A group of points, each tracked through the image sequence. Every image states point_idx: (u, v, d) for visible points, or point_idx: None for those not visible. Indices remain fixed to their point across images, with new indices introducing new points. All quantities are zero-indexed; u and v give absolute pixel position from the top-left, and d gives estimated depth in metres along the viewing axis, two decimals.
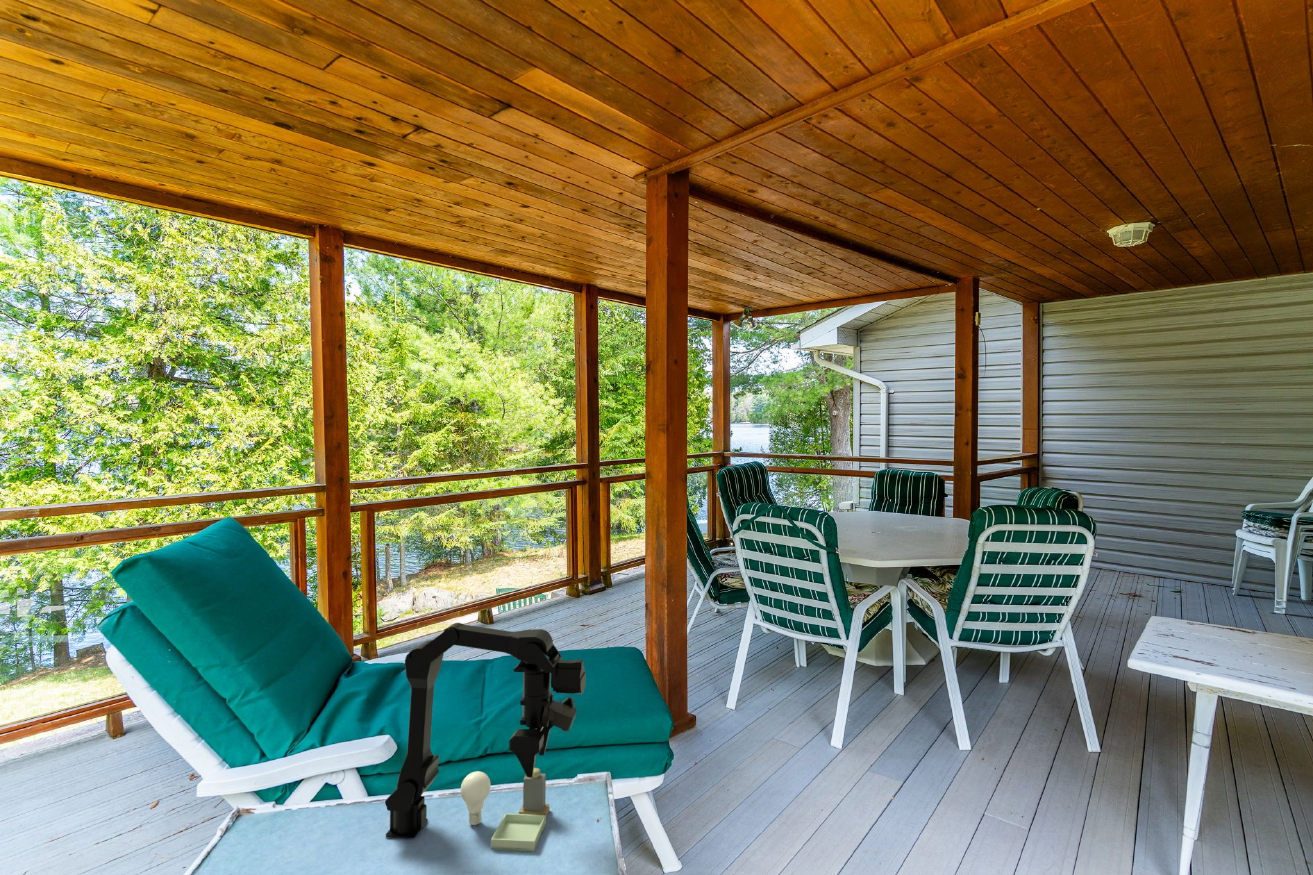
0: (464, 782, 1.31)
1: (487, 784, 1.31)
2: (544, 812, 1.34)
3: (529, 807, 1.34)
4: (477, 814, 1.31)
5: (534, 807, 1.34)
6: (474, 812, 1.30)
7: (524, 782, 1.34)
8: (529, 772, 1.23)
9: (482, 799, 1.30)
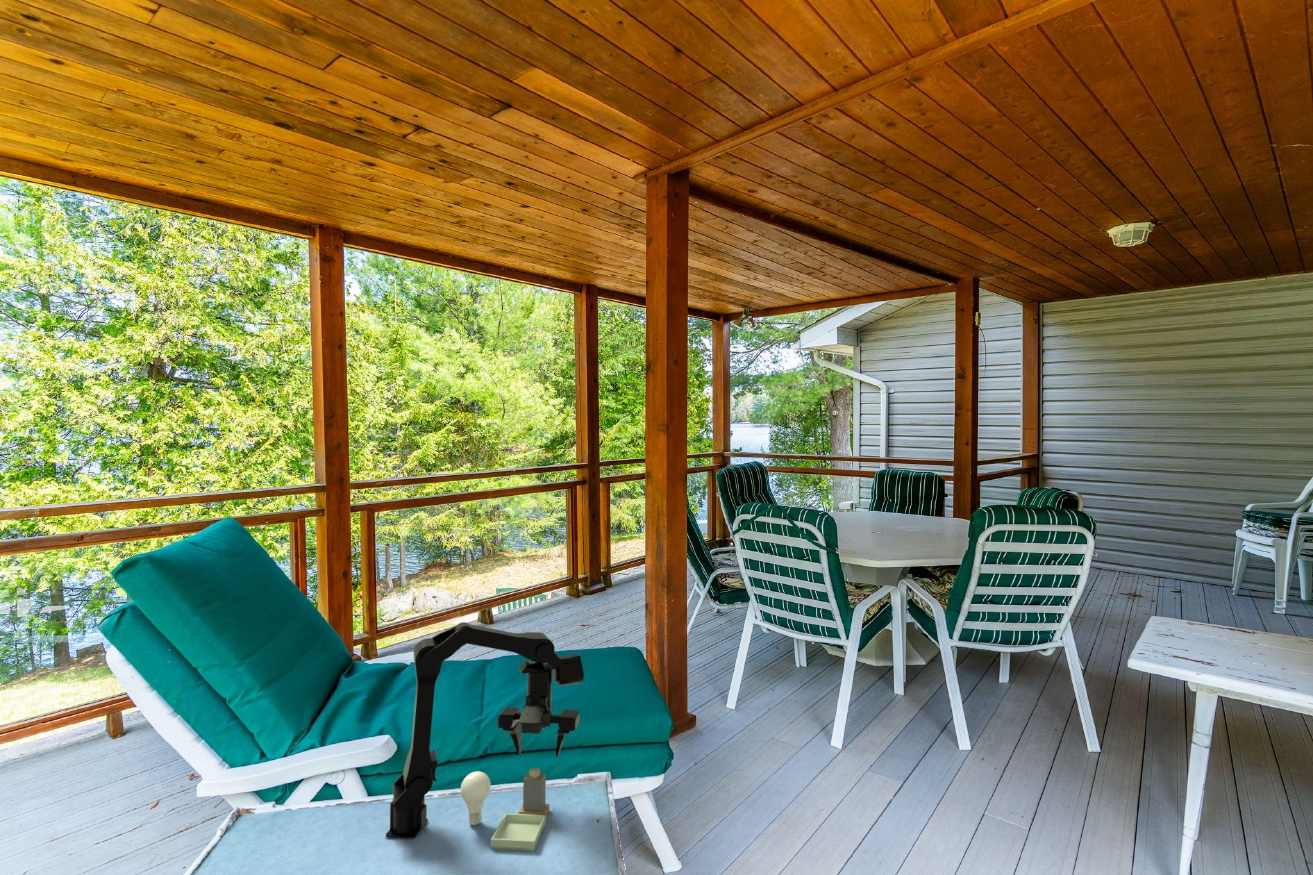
0: (464, 782, 1.31)
1: (487, 784, 1.31)
2: (544, 812, 1.34)
3: (529, 807, 1.34)
4: (477, 814, 1.31)
5: (534, 807, 1.34)
6: (474, 812, 1.30)
7: (524, 782, 1.34)
8: None
9: (482, 799, 1.30)
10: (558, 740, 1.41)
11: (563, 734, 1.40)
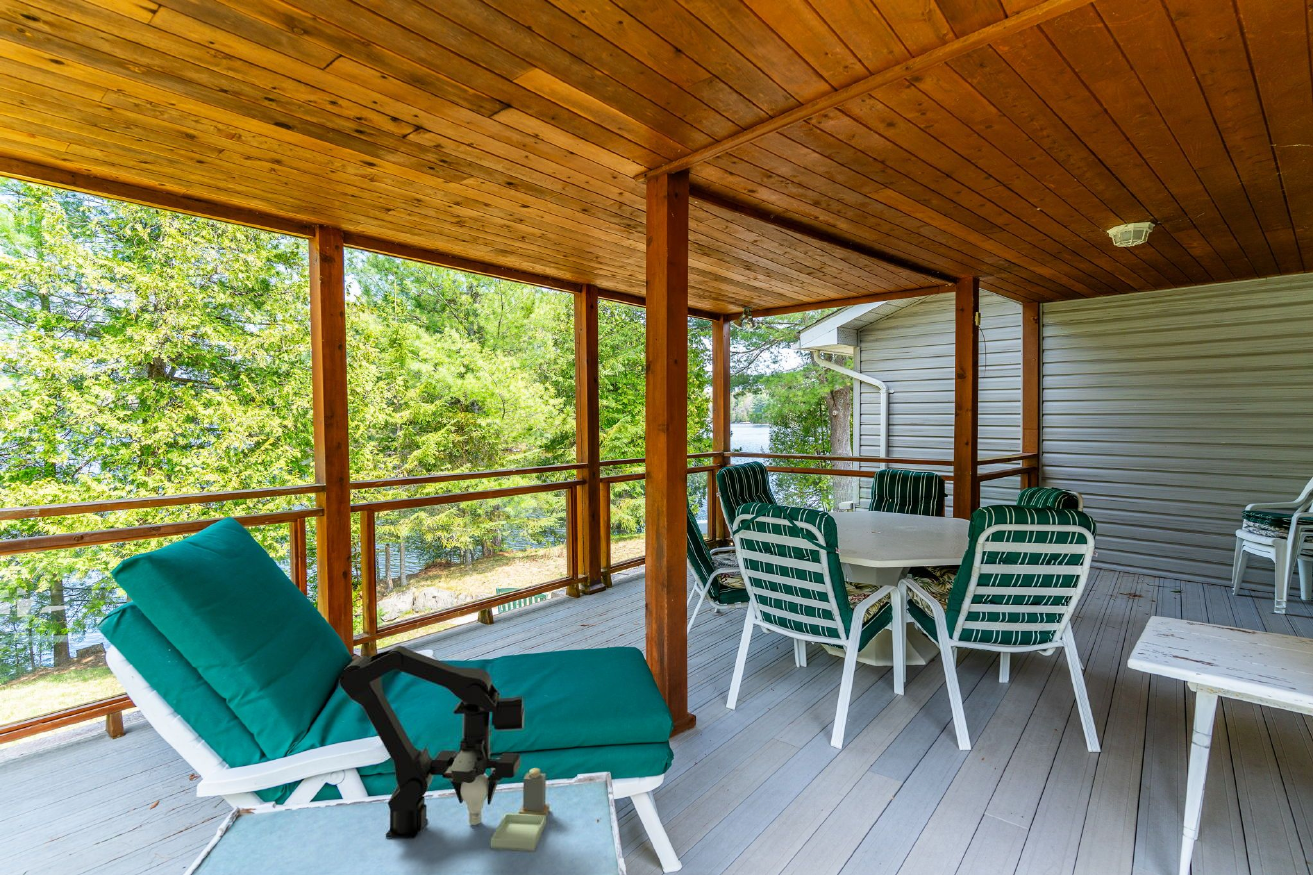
0: (464, 782, 1.31)
1: (487, 784, 1.31)
2: (544, 812, 1.34)
3: (529, 807, 1.34)
4: (477, 814, 1.31)
5: (534, 807, 1.34)
6: (474, 812, 1.30)
7: (524, 782, 1.34)
8: None
9: (482, 799, 1.30)
10: (489, 787, 1.31)
11: (494, 781, 1.30)
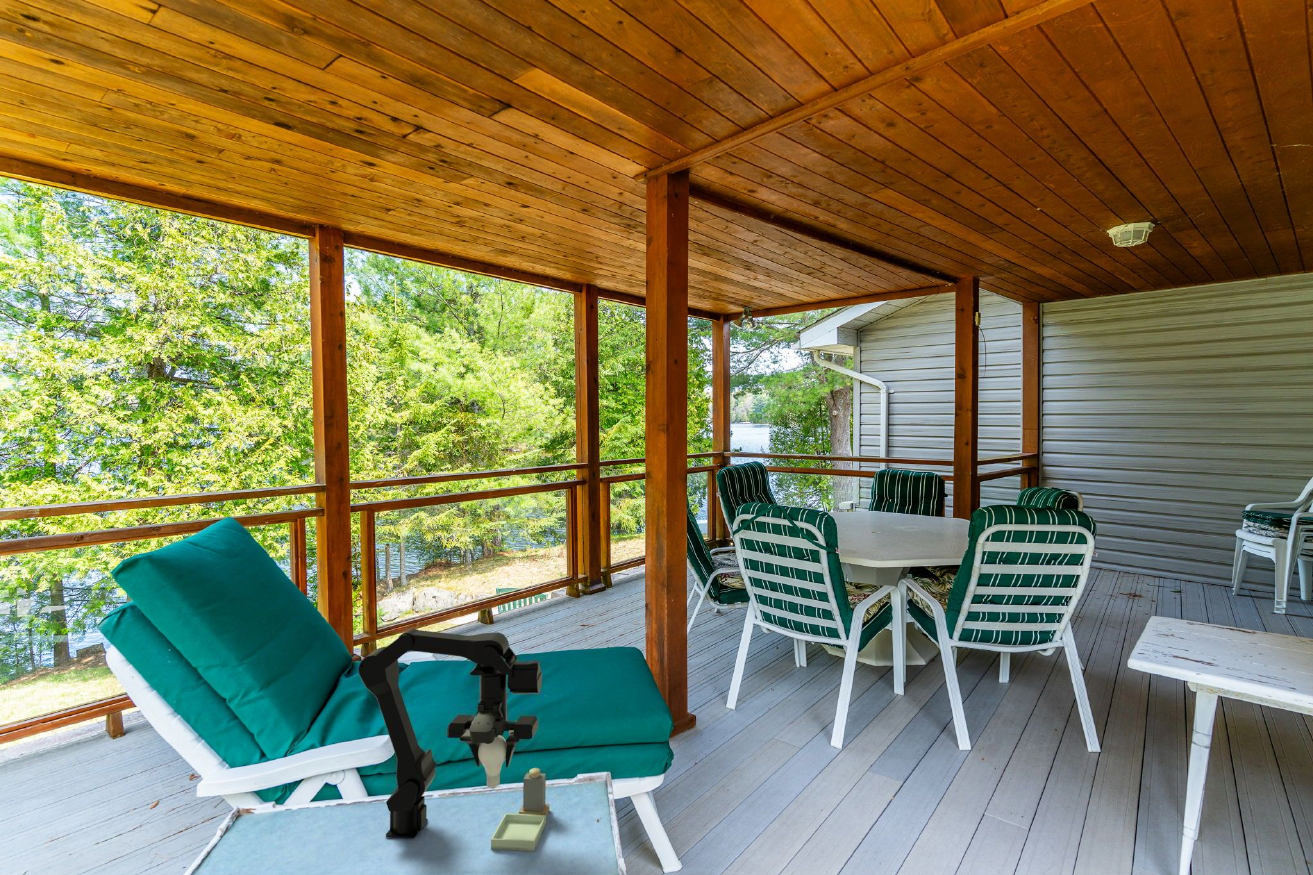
0: (482, 745, 1.29)
1: (505, 747, 1.30)
2: (544, 812, 1.34)
3: (529, 807, 1.34)
4: (495, 777, 1.30)
5: (534, 807, 1.34)
6: (492, 775, 1.29)
7: (524, 782, 1.34)
8: None
9: (500, 761, 1.29)
10: (508, 749, 1.29)
11: (512, 743, 1.28)
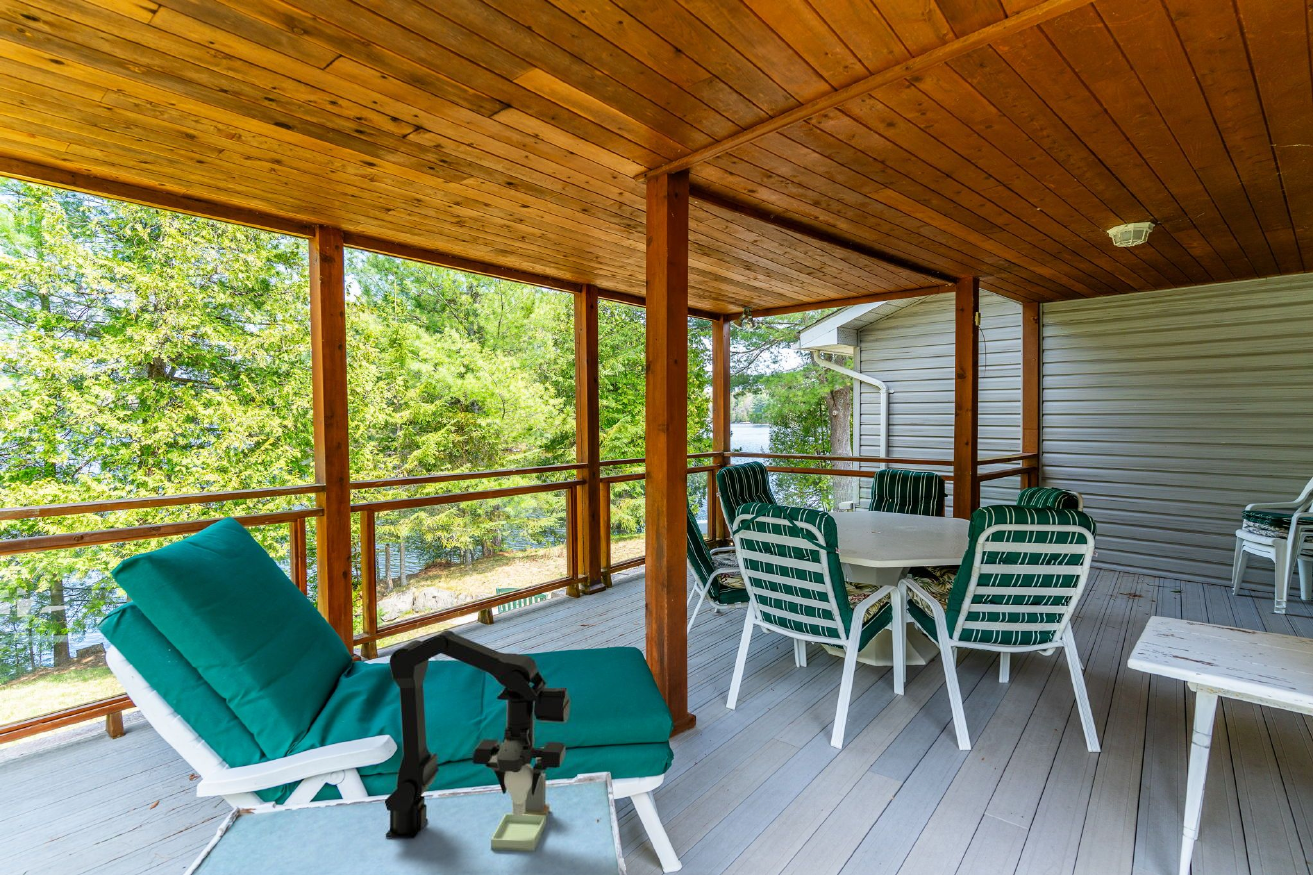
0: (508, 771, 1.27)
1: (531, 774, 1.27)
2: (544, 812, 1.34)
3: (529, 807, 1.34)
4: (521, 805, 1.27)
5: (534, 807, 1.34)
6: (518, 802, 1.26)
7: None
8: None
9: (527, 789, 1.26)
10: (534, 777, 1.26)
11: (539, 771, 1.25)
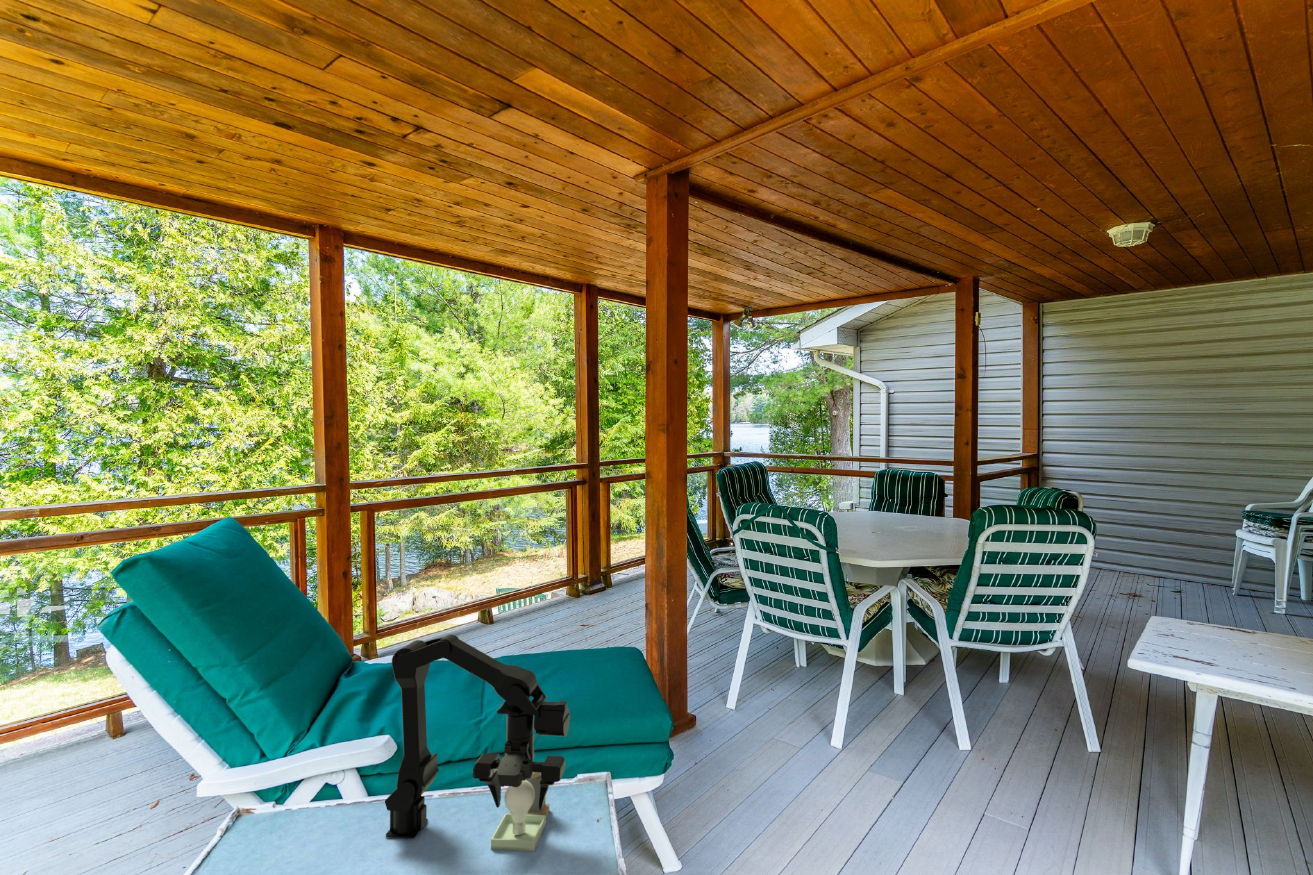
0: (509, 790, 1.26)
1: (532, 793, 1.27)
2: (544, 812, 1.34)
3: None
4: (521, 824, 1.27)
5: (534, 807, 1.34)
6: (518, 821, 1.26)
7: None
8: None
9: (527, 808, 1.26)
10: (541, 791, 1.26)
11: (546, 785, 1.25)
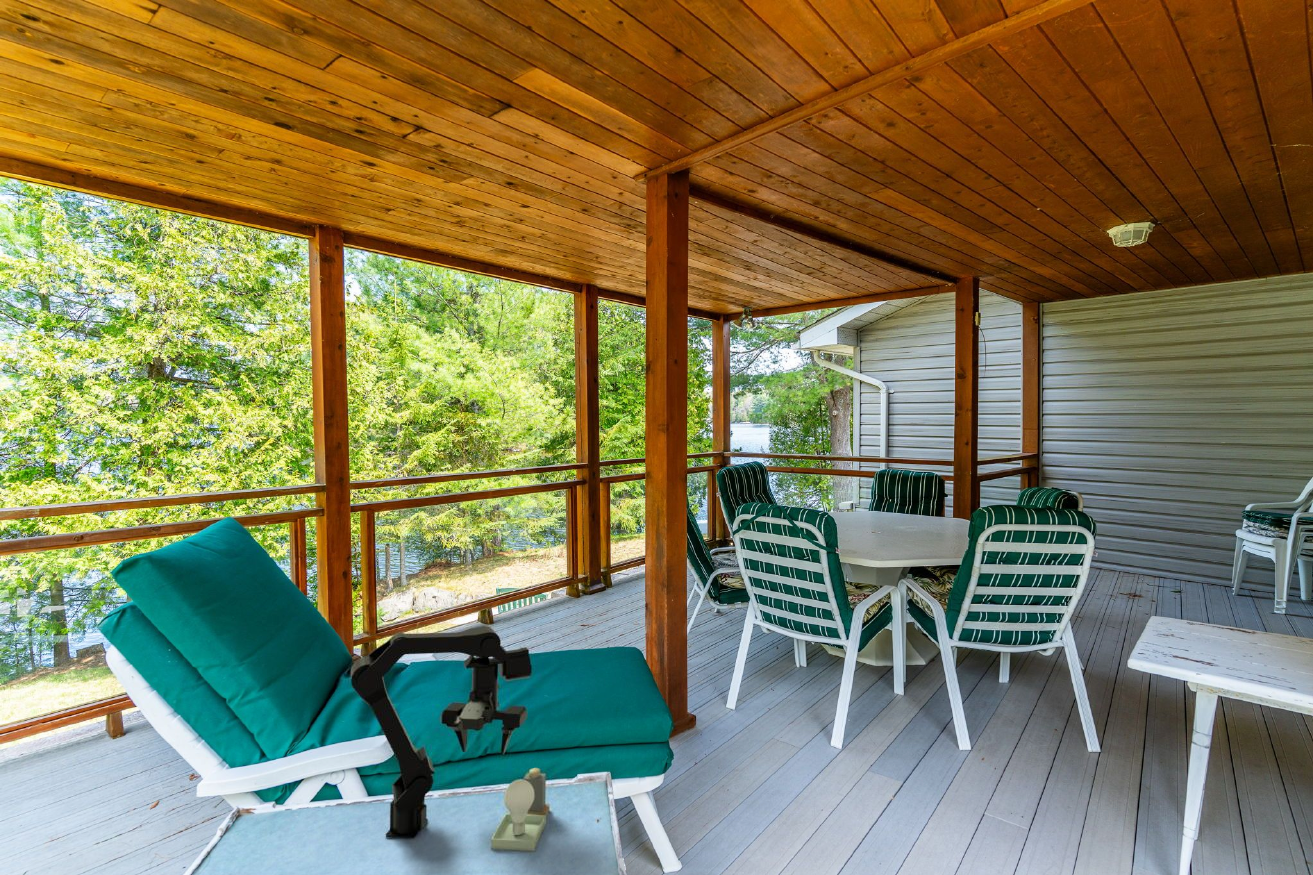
0: (508, 790, 1.26)
1: (531, 793, 1.27)
2: (544, 812, 1.34)
3: None
4: (521, 824, 1.27)
5: (534, 807, 1.34)
6: (518, 822, 1.26)
7: None
8: None
9: (527, 808, 1.26)
10: (503, 737, 1.36)
11: (507, 731, 1.35)
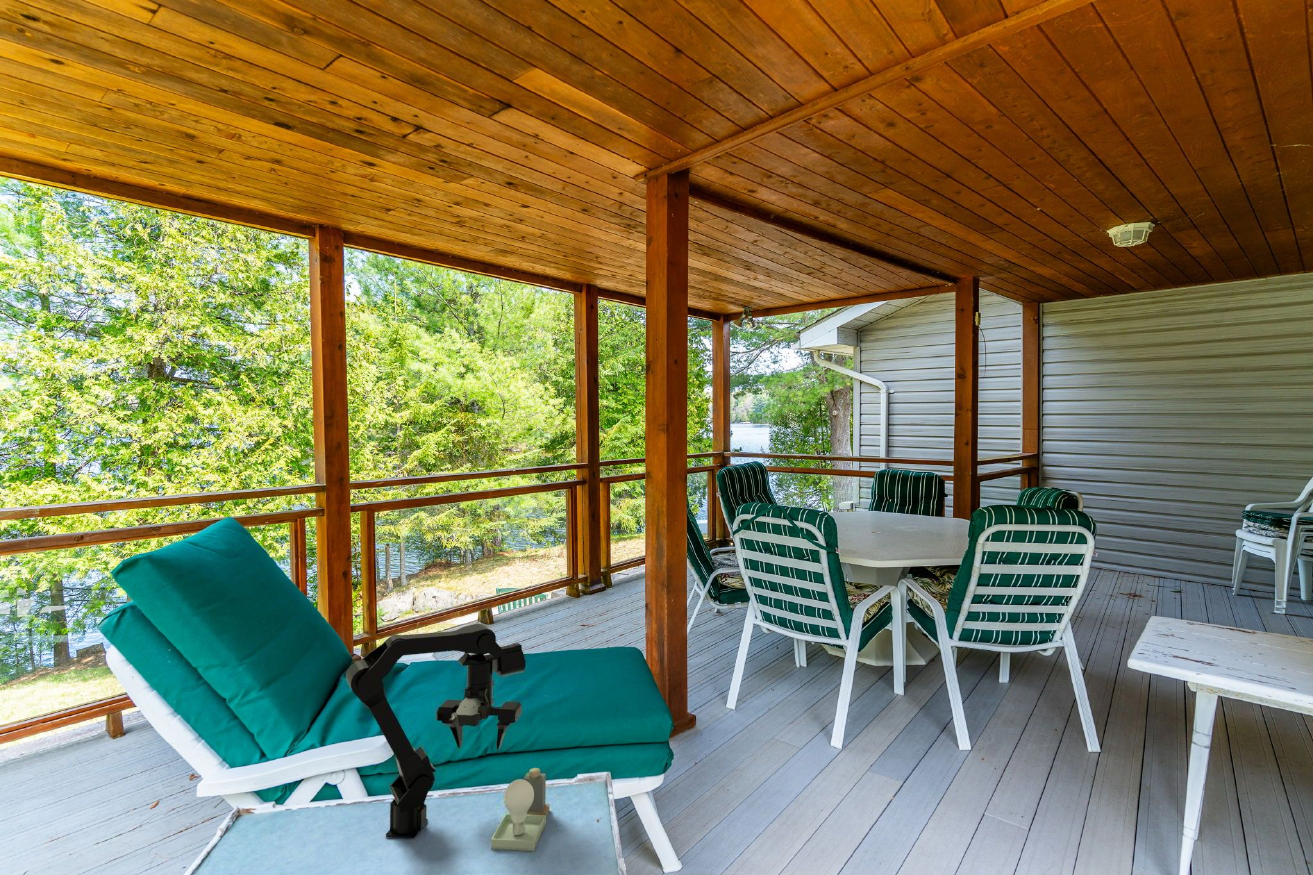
0: (507, 791, 1.26)
1: (531, 793, 1.27)
2: (544, 812, 1.34)
3: None
4: (521, 824, 1.27)
5: (534, 807, 1.34)
6: (518, 822, 1.26)
7: None
8: None
9: (526, 808, 1.26)
10: (498, 733, 1.38)
11: (503, 727, 1.37)
